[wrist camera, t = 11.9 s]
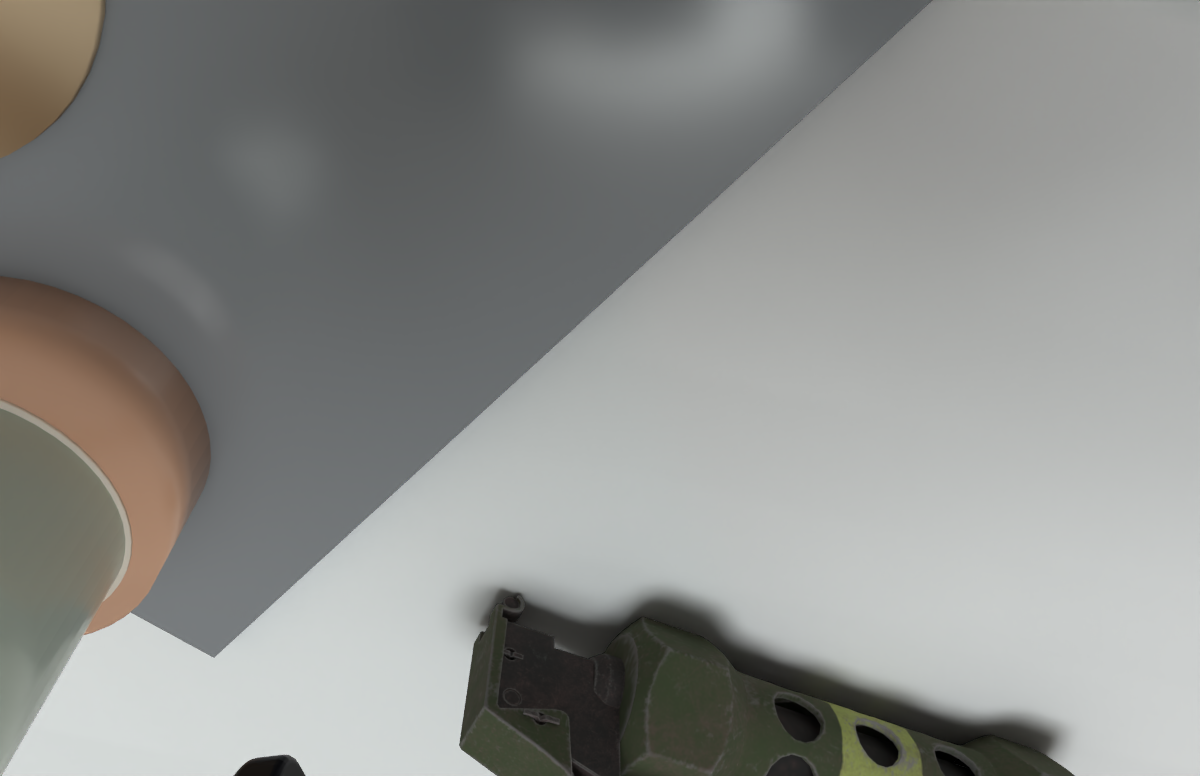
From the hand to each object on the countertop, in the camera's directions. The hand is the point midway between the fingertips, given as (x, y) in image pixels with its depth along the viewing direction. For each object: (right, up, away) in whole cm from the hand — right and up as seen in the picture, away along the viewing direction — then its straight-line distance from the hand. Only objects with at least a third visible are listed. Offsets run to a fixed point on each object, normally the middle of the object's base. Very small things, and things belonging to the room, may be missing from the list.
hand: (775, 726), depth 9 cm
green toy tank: (+3, -6, +20) cm, 21 cm away
